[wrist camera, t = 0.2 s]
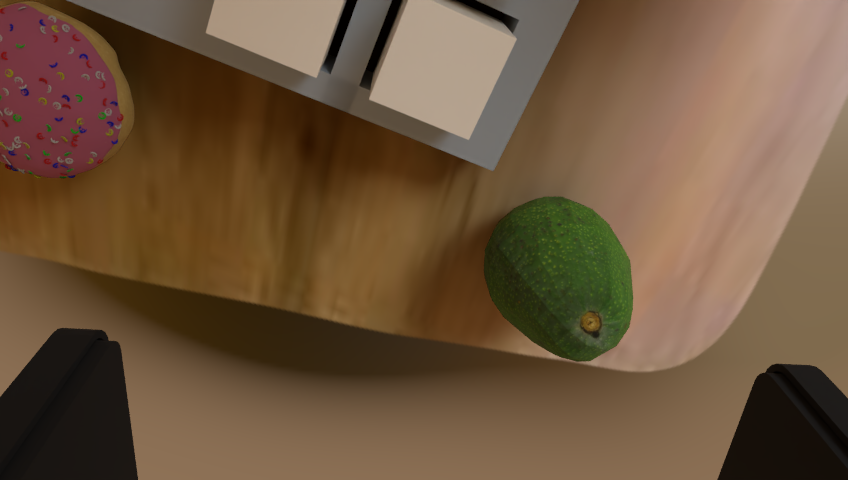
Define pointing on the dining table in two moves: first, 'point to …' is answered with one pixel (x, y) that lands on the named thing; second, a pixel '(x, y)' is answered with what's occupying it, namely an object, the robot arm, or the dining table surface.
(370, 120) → the board
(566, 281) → the avocado
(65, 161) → the cupcake
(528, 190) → the dining table surface
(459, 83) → the button
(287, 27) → the button
